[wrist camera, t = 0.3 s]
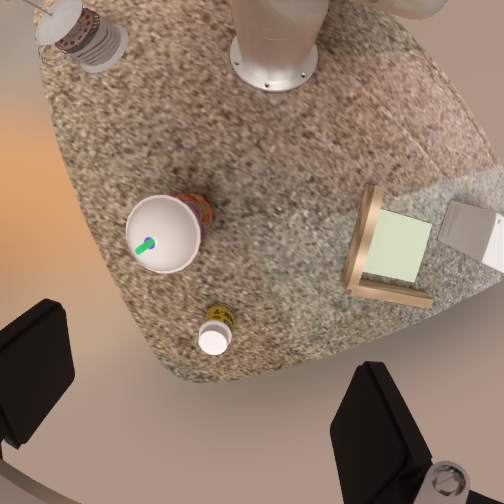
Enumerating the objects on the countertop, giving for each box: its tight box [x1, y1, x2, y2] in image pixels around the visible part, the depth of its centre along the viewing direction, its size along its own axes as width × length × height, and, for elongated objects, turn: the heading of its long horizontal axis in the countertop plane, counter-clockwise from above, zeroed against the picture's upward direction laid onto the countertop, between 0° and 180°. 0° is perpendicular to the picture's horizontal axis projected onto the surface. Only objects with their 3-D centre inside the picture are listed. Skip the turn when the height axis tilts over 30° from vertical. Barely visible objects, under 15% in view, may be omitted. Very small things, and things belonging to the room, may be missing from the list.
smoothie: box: [126, 193, 213, 273], centre depth 34 cm, size 8×8×20 cm
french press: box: [7, 0, 128, 73], centre depth 25 cm, size 10×12×25 cm
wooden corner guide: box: [341, 184, 434, 309], centre depth 42 cm, size 16×16×4 cm
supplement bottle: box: [199, 304, 235, 355], centre depth 44 cm, size 5×5×8 cm
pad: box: [363, 209, 432, 282], centre depth 43 cm, size 10×10×1 cm
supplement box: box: [438, 200, 504, 273], centre depth 36 cm, size 7×7×13 cm
